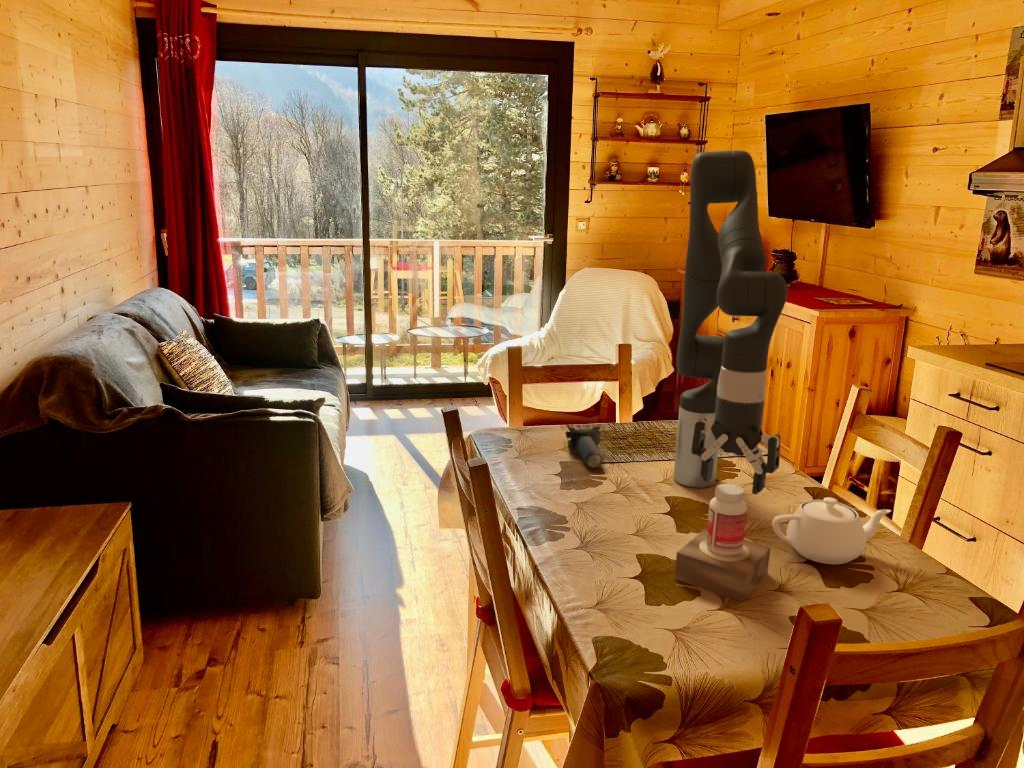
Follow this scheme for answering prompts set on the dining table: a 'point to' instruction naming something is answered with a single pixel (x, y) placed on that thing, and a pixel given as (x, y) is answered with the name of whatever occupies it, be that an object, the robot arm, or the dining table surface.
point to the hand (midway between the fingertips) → (731, 486)
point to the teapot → (827, 531)
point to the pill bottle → (726, 520)
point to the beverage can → (586, 445)
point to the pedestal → (722, 567)
